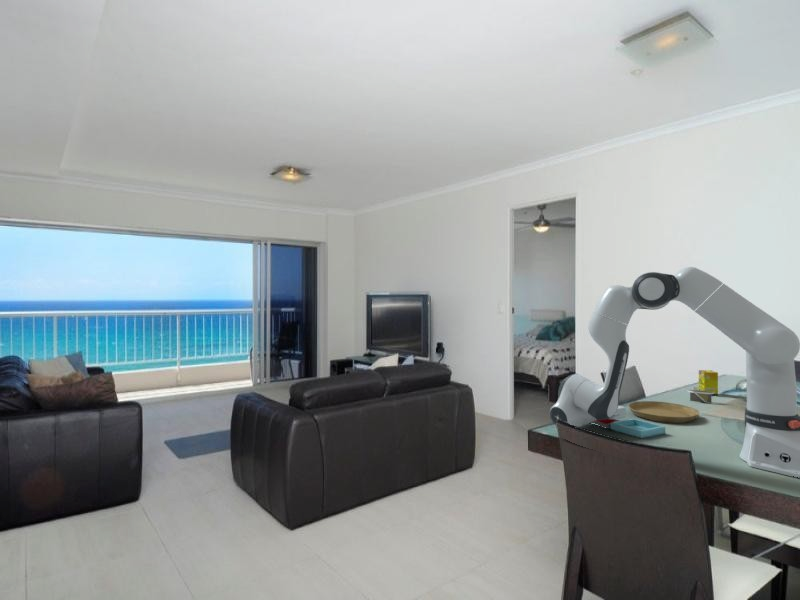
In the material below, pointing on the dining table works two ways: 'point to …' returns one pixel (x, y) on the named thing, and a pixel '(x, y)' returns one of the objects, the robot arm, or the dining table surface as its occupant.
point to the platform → (700, 395)
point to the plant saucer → (663, 411)
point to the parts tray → (638, 428)
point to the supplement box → (709, 381)
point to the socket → (604, 424)
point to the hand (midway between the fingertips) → (606, 404)
